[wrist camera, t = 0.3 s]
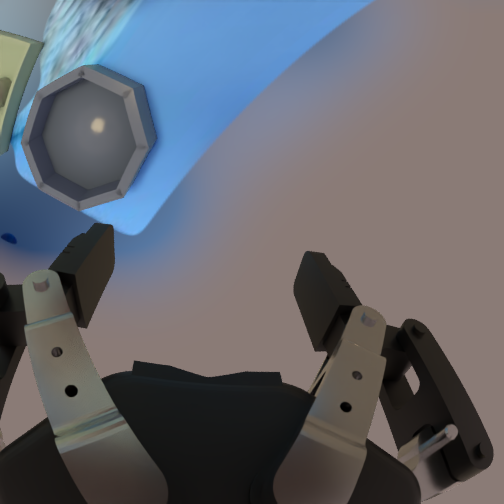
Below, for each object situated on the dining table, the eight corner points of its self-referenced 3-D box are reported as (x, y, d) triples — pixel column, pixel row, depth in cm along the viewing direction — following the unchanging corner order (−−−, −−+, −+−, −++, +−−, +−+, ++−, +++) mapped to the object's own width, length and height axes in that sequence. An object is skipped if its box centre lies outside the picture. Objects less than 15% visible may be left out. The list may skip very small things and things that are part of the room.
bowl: (70, 52, 19) (52, 53, 16) (178, 104, 26) (171, 109, 23) (29, 163, 26) (14, 175, 23) (119, 211, 33) (110, 227, 30)
